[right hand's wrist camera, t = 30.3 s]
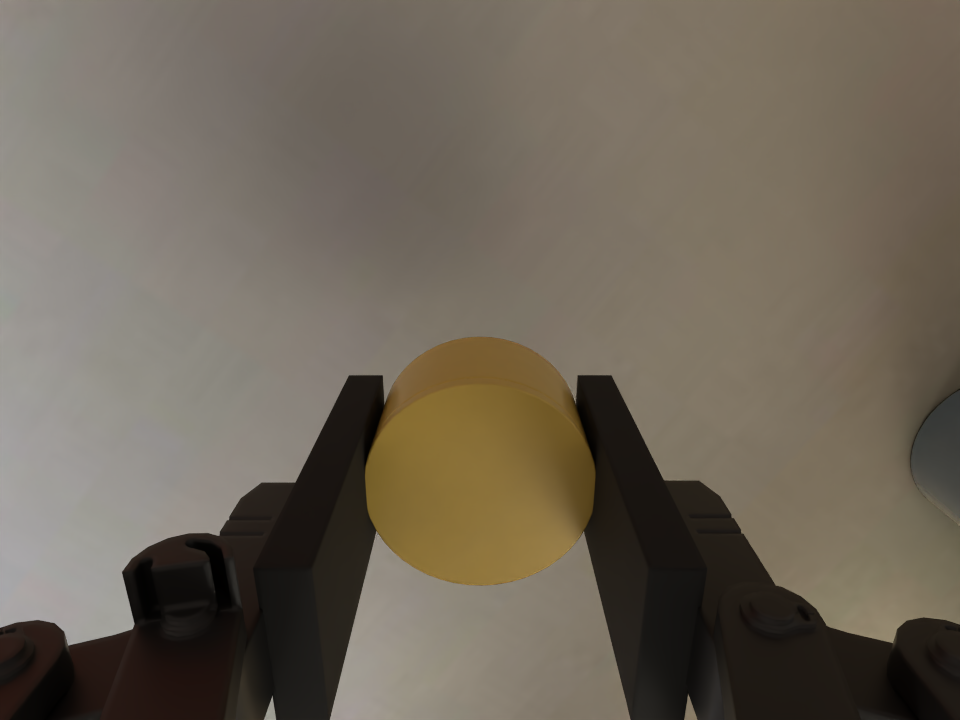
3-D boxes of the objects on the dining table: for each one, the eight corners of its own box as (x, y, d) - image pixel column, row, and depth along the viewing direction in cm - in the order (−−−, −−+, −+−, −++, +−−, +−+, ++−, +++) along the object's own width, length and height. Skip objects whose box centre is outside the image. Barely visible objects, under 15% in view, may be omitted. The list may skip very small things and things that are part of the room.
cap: (610, 376, 14) (637, 432, 12) (532, 533, 16) (541, 611, 13) (420, 305, 14) (407, 349, 11) (357, 476, 15) (334, 546, 13)
